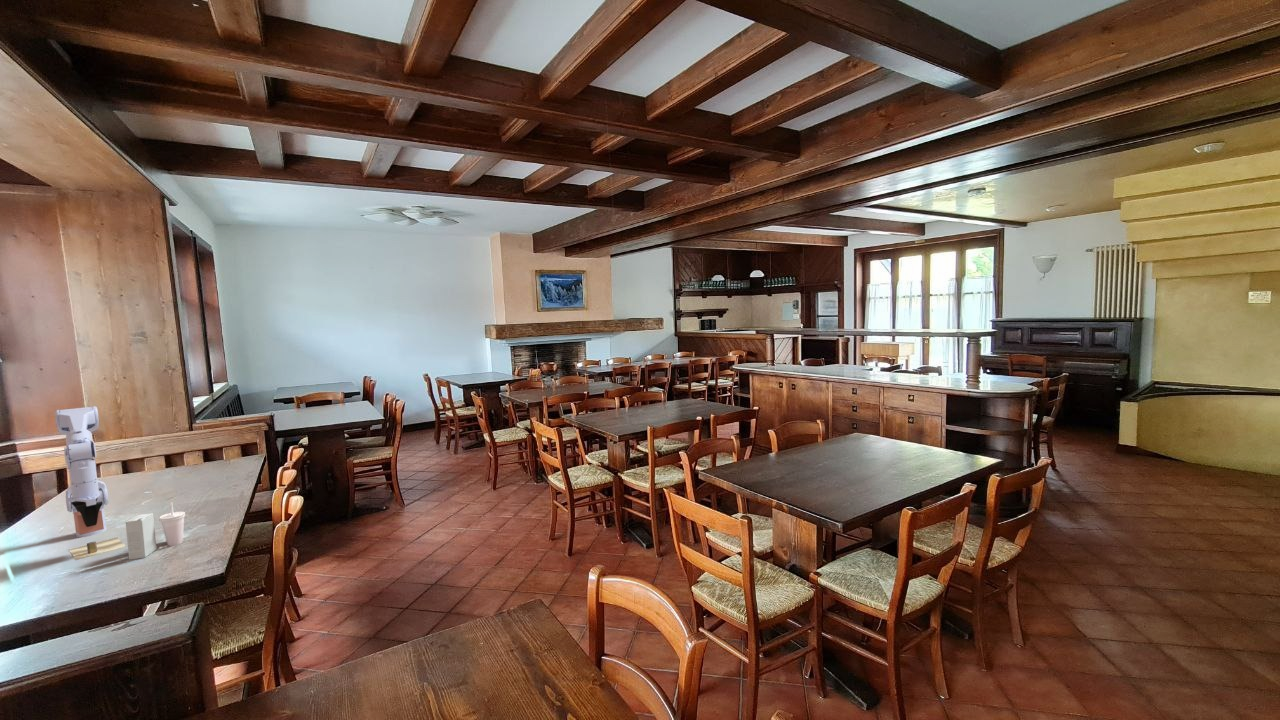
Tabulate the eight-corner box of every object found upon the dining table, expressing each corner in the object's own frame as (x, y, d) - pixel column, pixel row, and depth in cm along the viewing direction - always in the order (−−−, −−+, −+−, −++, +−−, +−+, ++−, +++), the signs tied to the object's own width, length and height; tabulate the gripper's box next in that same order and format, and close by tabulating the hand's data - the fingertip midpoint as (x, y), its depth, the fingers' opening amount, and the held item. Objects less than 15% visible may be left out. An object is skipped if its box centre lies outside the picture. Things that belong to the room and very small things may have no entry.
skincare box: (140, 551, 164) (136, 514, 163) (158, 549, 165) (153, 512, 164) (128, 560, 158) (123, 521, 157) (146, 557, 159) (141, 519, 158)
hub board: (68, 552, 165) (67, 540, 165) (117, 539, 174) (115, 528, 174) (76, 562, 158) (74, 550, 157) (126, 548, 166) (125, 537, 166)
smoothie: (164, 549, 165) (159, 506, 164) (159, 545, 169) (155, 503, 167) (190, 542, 170) (186, 500, 169) (185, 537, 174) (181, 497, 173)
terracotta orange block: (99, 525, 166) (97, 506, 165) (103, 528, 163) (101, 509, 162) (76, 531, 162) (73, 512, 161) (79, 535, 159) (77, 515, 158)
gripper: (60, 481, 162) (66, 523, 163) (69, 488, 153) (75, 533, 155) (93, 475, 168) (98, 516, 169) (103, 482, 159) (108, 525, 160)
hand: (89, 523), depth 162 cm, fingers closed on terracotta orange block, 5 cm apart
